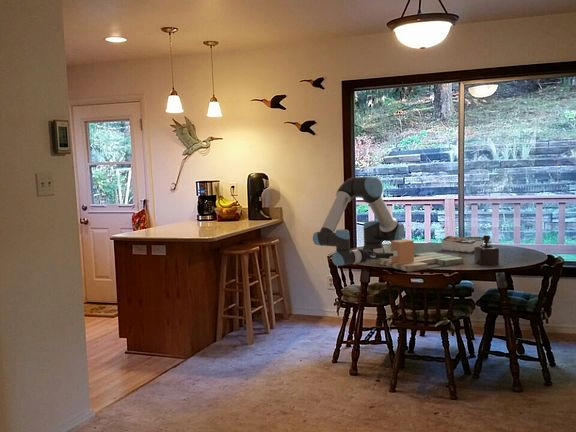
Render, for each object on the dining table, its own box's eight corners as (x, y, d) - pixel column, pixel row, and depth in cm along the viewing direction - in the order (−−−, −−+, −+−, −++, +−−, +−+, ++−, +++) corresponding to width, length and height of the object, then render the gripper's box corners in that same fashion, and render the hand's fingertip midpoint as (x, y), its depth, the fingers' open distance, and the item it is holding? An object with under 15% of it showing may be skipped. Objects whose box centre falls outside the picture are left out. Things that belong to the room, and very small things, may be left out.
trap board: (378, 264, 333) (378, 259, 333) (431, 256, 350) (431, 251, 350) (408, 271, 308) (408, 266, 307) (463, 263, 325) (463, 258, 325)
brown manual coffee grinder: (472, 262, 326) (472, 232, 324) (490, 261, 327) (490, 231, 325) (484, 267, 311) (484, 235, 309) (503, 266, 312) (503, 234, 310)
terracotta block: (391, 261, 324) (390, 240, 323) (405, 259, 329) (404, 239, 328) (399, 263, 317) (399, 242, 316) (413, 261, 322) (413, 240, 320)
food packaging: (437, 239, 370) (452, 235, 387) (437, 250, 371) (452, 245, 388) (473, 242, 354) (487, 237, 371) (473, 253, 355) (487, 248, 372)
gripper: (346, 259, 321) (377, 255, 330) (371, 266, 298) (403, 261, 308) (346, 246, 320) (376, 242, 329) (371, 252, 298) (403, 248, 307)
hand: (389, 251), depth 318 cm, fingers open, 13 cm apart
